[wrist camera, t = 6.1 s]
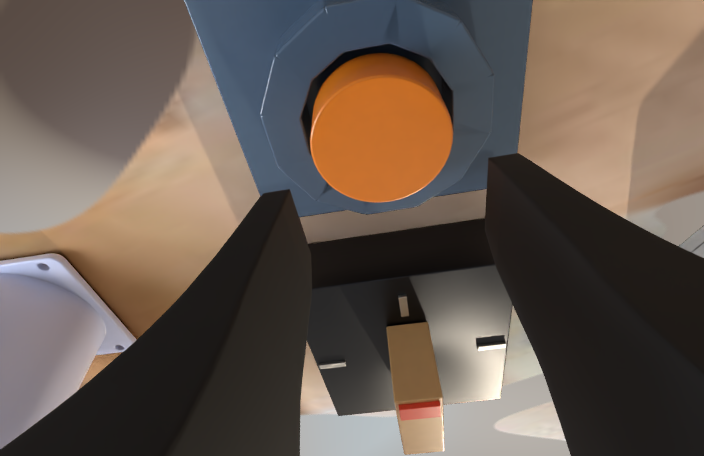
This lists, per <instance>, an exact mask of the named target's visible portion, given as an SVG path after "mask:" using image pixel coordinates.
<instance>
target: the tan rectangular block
mask: <svg viewBox="0 0 704 456" xmlns="http://www.w3.org/2000/svg"><path fill="white" fill-rule="evenodd" d="M386 329H387V339H388V348H389V357H390V367H391V376H392V385H393V395H394V403H395V408H396V414H397V419H398V424H399V429H400V434H401V440H402V445H403V450H404V454H405V455H407V454H417V453H429V452H440V451H444V450H445V449H444V416H443V395H442V390H441V385H440V380H439V375H438V370H437V365H436V360H435V355H434V350H433V345H432V340H431V335H430V330H429V325H428V322H421V323H412V324H404V325H395V326H387V328H386Z"/></svg>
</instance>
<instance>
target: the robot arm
mask: <svg viewBox="0 0 704 456" xmlns="http://www.w3.org/2000/svg"><path fill="white" fill-rule="evenodd" d="M485 232H486V236H487V239H488V243H489V246H490V249H491V253H492V256H493V259H494V262H495V265H496V268H497V271H498V273H499V275H500V277H501V280H502V282H503V284H504V286H505V288H506V291H507V293H508V295H509V297H510V300H511V302H512V304H513V306H514V308H515V310H516V313H517V315H518V317H519V319H520V321H521V323H522V326H523V328H524V330H525V332H526V334H527V337H528V339H529V341H530V343H531V345H532V347H533V350H534V352H535V354H536V356H537V359H538V361H539V364H540V366H541V369H542V371H543V373H544V376H545V379H546V382H547V385H548V387H549V391H550V393H551V397H552V400H553V402H554V405H555V408H556V411H557V414H558V417H559V420H560V423H561V426H562V429H563V433H564V436H565V439H566V442H567V445H568V448H569V451H570V454H571V456H704V258H703V257H700V256H698V255H696V254H694V253H692V252H689V251H687V250H685V249H683V248H681V247H679V246H676V245H674V244H672V243H670V242H668V241H666V240H664V239H662V238H660V237H658V236H656V235H654V234H652V233H650V232H648V231H646V230H644V229H643V228H641V227H639V226H637V225H635V224H633V223H631V222H630V221H628V220H626V219H624V218H622V217H620V216H618V215H617V214H615V213H613V212H612V211H610V210H608V209H606V208H605V207H603V206H601V205H599V204H598V203H596V202H594V201H593V200H591V199H589V198H588V197H586V196H585V195H583V194H581V193H580V192H578V191H576V190H575V189H573V188H572V187H570V186H569V185H567V184H565V183H564V182H562V181H561V180H559V179H558V178H556V177H555V176H553V175H552V174H550V173H548V172H547V171H545V170H544V169H542V168H541V167H539V166H538V165H536V164H535V163H533V162H532V161H530V160H528V159H527V158H525V157H524V156H522V155H520V154H518V153H515V154H509V155H503V156H496V157H490V158H488V175H487V195H486V215H485ZM311 296H312V266H311V252H310V249H309V246H308V243H307V240H306V237H305V234H304V231H303V228H302V225H301V222H300V219H299V216H298V213H297V210H296V207H295V204H294V200H293V197H292V194H291V191H290V189H287V190H281V191H274V192H268V193H263V194H262V196H261V197H260V198H259V199H258V201H257V202H256V203H255V205H254V206H253V207H252V209H251V210H250V211H249V213H248V214H247V215H246V217H245V218H244V219H243V221H242V222H241V224H240V225H239V226H238V228H237V229H236V230H235V231H234V233H233V234H232V235H231V237H230V238H229V239H228V241H227V242H226V243H225V244H224V246H223V247H222V248H221V250H220V251H219V252H218V253H217V255H216V256H215V257H214V258H213V259H212V261H211V262H210V263H209V264H208V265H207V266H206V268H205V269H204V270H203V271H202V272H201V273H200V275H199V276H198V277H197V278H196V279H195V281H194V282H193V283H192V284H191V285H190V286H189V288H188V289H187V290H186V291H185V292H184V293H183V294H182V295H181V296H180V298H179V299H178V300H177V301H176V302H175V303H174V304H173V305H172V306H171V307H170V308H169V309H168V310H167V311H166V312H165V313H164V314H163V315H162V316H161V317H160V318H159V319H158V320H157V321H156V322H155V323H154V324H153V325H152V326H151V327H150V328H149V329H148V330H147V331H146V332H145V333H144V334H143V335H142V336H141V337H139V338H138V339H136V338H135V337H134V336H133V335H132V334H131V333H130V331H129V330H128V329H127V328H126V327H125V326H124V325H123V324H122V322H121V321H120V320H119V319H118V318H117V317H116V316H115V314H114V313H113V312H112V311H111V310H110V309H109V308H108V306H107V305H106V304H105V303H104V302H103V301H102V300H101V298H100V297H99V296H98V295H97V294H96V293H95V292H94V290H93V289H92V288H91V287H90V286H89V285H88V284H87V282H86V281H85V280H84V279H83V278H82V277H81V276H80V274H79V273H78V272H77V271H76V270H75V269H74V268H73V266H72V265H71V264H70V263H69V262H68V261H67V260H66V259H65V258H64V257H63V256H61V255H59V254H56V253H49V254H43V255H36V256H29V257H23V258H16V259H10V260H3V261H0V456H300V400H301V386H302V376H303V367H304V358H305V350H306V341H307V332H308V324H309V315H310V305H311ZM118 352H123V353H121V354H120V355H119V356H118V357H117V358H116V359H114V360H113V361H112V362H111V363H110V364H109V365H108V366H106V367H105V368H104V369H103V370H102V371H101V372H100V373H98V374H97V375H96V376H95V377H94V378H93V379H91V380H90V381H89V382H88V383H87V384H85V385H84V386H83V387H82V388H81V389H79V387H80V385H81V383H82V381H83V379H84V377H85V375H86V373H87V371H88V369H89V367H90V365H91V363H92V361H93V359H94V357H95V355H102V354H110V353H118ZM78 389H79V390H78Z"/></svg>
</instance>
